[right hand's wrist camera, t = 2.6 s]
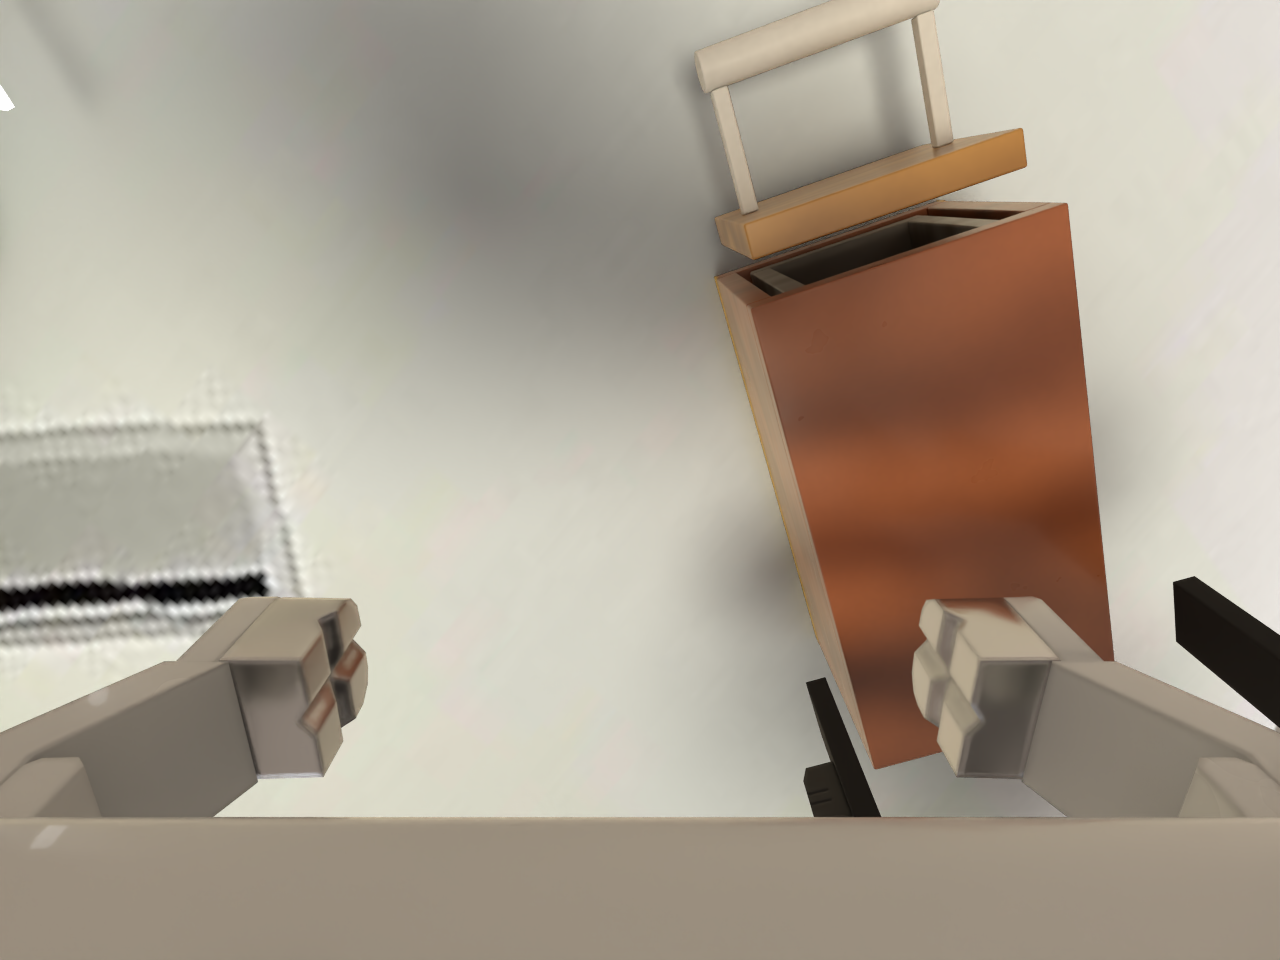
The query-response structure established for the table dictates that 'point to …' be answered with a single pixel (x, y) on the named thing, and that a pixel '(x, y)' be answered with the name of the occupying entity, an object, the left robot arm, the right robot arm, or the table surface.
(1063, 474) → the cabinet
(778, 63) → the drawer
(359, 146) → the table surface
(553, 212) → the table surface
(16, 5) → the table surface
